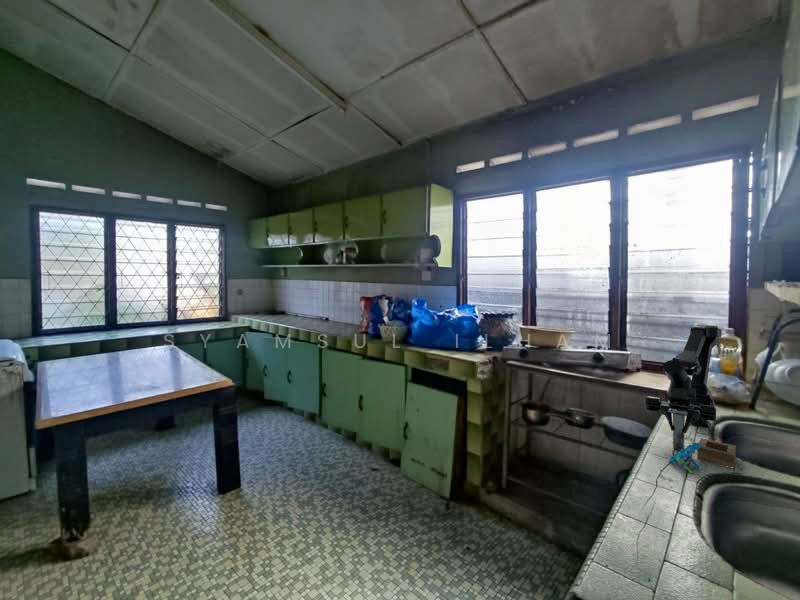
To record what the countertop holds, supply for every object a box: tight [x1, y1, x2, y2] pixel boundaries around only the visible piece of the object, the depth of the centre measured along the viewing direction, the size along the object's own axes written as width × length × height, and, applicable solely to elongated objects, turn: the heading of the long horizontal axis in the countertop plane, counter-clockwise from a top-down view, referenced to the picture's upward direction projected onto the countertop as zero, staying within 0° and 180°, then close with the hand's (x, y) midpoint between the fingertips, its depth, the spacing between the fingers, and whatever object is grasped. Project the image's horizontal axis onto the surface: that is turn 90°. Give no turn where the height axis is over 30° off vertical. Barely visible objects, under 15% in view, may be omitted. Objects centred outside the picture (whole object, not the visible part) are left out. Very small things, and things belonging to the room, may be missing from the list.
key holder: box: [696, 437, 737, 469], centre depth 113 cm, size 8×8×4 cm
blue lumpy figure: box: [668, 442, 702, 474], centre depth 108 cm, size 11×6×10 cm
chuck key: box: [668, 409, 688, 452], centre depth 119 cm, size 3×5×13 cm, turn 45°
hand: (678, 431), depth 118 cm, fingers closed on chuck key, 3 cm apart
